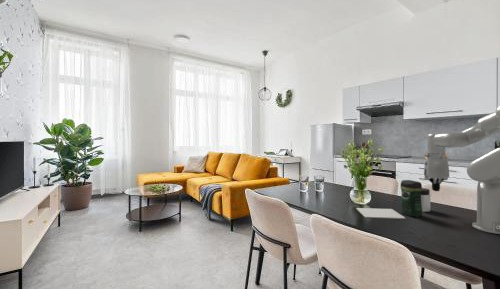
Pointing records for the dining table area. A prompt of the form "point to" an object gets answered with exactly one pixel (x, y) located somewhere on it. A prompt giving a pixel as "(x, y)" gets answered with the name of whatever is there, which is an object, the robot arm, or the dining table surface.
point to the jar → (425, 200)
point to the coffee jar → (411, 198)
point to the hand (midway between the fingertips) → (435, 190)
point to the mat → (379, 213)
